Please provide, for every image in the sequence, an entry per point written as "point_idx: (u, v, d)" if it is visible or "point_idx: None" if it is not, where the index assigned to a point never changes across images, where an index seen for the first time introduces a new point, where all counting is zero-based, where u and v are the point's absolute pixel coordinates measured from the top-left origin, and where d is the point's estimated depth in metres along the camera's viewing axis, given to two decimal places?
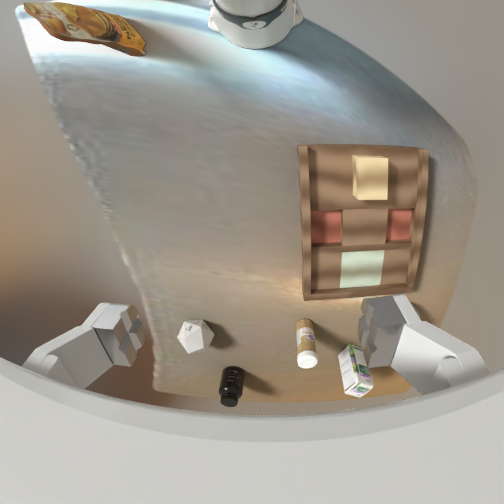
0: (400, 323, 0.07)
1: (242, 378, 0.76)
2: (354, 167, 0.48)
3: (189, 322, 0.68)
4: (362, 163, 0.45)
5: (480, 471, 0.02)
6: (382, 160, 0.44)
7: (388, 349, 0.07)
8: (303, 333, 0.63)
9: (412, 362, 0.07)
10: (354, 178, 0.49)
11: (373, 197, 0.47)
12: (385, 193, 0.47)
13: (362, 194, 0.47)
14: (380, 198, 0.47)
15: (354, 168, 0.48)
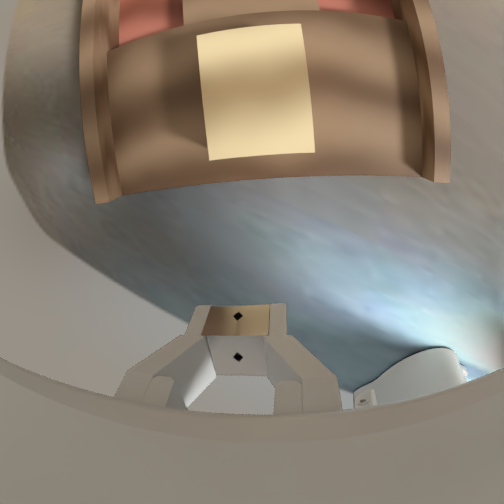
0: (260, 334, 0.07)
1: None
2: None
3: None
4: (299, 133, 0.14)
5: (480, 471, 0.02)
6: (229, 150, 0.15)
7: (256, 359, 0.08)
8: None
9: (277, 377, 0.07)
10: None
11: (247, 33, 0.12)
12: (205, 51, 0.12)
13: (289, 38, 0.12)
14: (221, 34, 0.12)
15: None
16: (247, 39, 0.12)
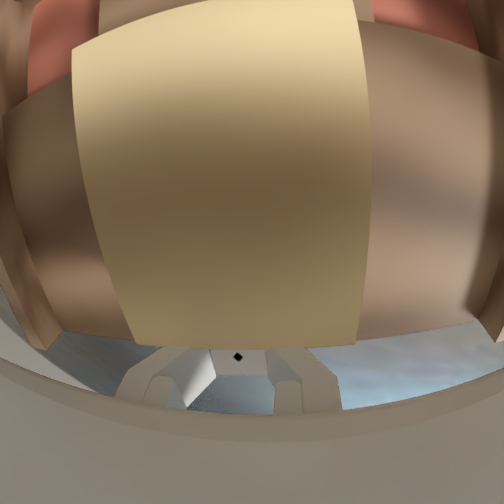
0: None
1: None
2: None
3: None
4: (328, 313, 0.06)
5: (480, 471, 0.02)
6: (169, 335, 0.07)
7: (256, 359, 0.08)
8: None
9: (277, 377, 0.07)
10: None
11: (192, 21, 0.04)
12: (86, 88, 0.04)
13: (318, 35, 0.04)
14: (124, 34, 0.04)
15: None
16: (191, 39, 0.04)
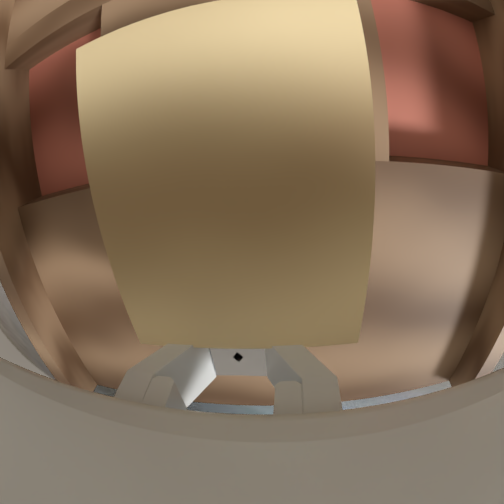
0: None
1: None
2: None
3: None
4: (332, 312, 0.06)
5: (480, 471, 0.02)
6: (174, 334, 0.07)
7: (256, 359, 0.08)
8: None
9: (277, 377, 0.07)
10: None
11: (198, 22, 0.04)
12: (91, 88, 0.04)
13: (323, 37, 0.04)
14: (129, 34, 0.04)
15: None
16: (197, 39, 0.04)
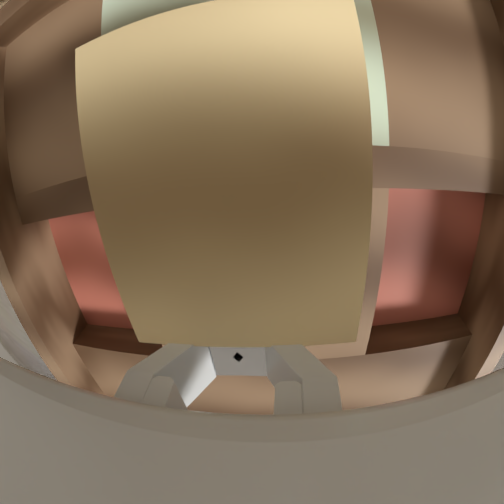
0: None
1: None
2: None
3: None
4: (329, 310, 0.06)
5: (480, 471, 0.02)
6: (172, 332, 0.07)
7: (257, 360, 0.08)
8: None
9: (277, 377, 0.07)
10: None
11: (196, 21, 0.04)
12: (90, 87, 0.04)
13: (320, 36, 0.04)
14: (127, 33, 0.04)
15: None
16: (195, 39, 0.04)
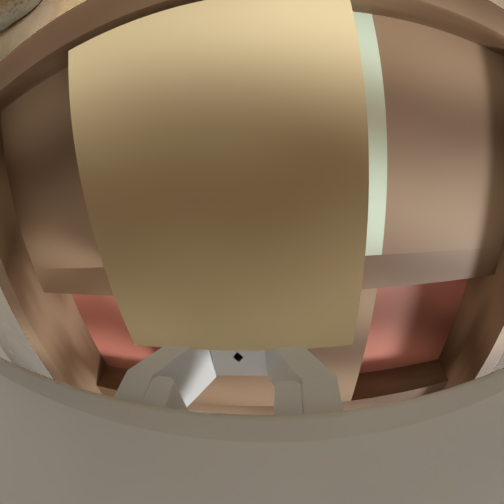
0: None
1: None
2: None
3: None
4: (325, 314, 0.06)
5: (480, 471, 0.02)
6: (167, 336, 0.07)
7: (257, 360, 0.08)
8: None
9: (277, 377, 0.07)
10: None
11: (188, 21, 0.04)
12: (83, 89, 0.04)
13: (315, 34, 0.04)
14: (120, 35, 0.04)
15: None
16: (187, 39, 0.04)
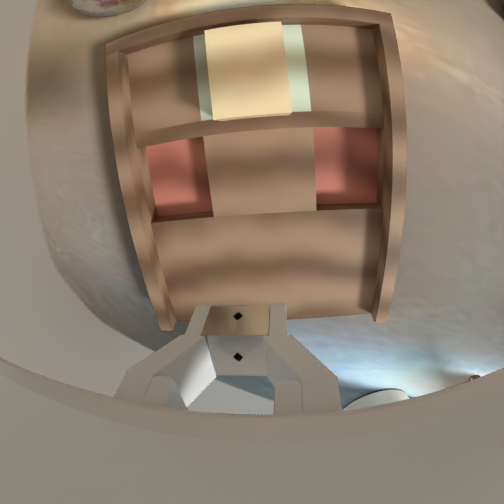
0: (260, 334, 0.07)
1: None
2: None
3: None
4: (280, 99, 0.18)
5: (480, 471, 0.02)
6: (228, 112, 0.19)
7: (256, 359, 0.08)
8: None
9: (277, 377, 0.07)
10: None
11: (242, 29, 0.16)
12: (211, 41, 0.16)
13: (272, 32, 0.16)
14: (222, 29, 0.16)
15: None
16: (241, 33, 0.16)
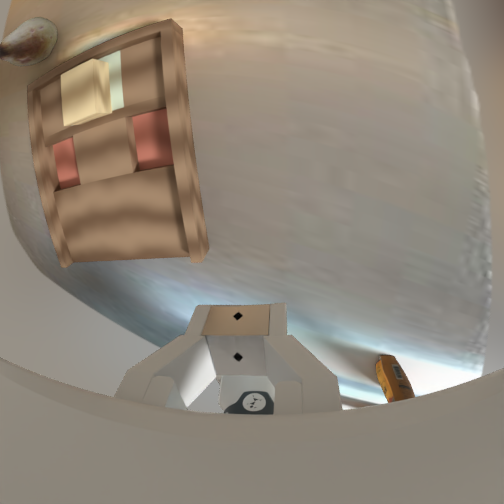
0: (260, 334, 0.07)
1: None
2: (105, 97, 0.28)
3: None
4: (90, 106, 0.26)
5: (480, 471, 0.02)
6: (69, 120, 0.27)
7: (256, 359, 0.08)
8: None
9: (277, 377, 0.07)
10: (105, 83, 0.28)
11: (75, 69, 0.24)
12: (63, 81, 0.25)
13: (88, 67, 0.24)
14: (67, 72, 0.24)
15: (105, 96, 0.28)
16: (75, 72, 0.24)
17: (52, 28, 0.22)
